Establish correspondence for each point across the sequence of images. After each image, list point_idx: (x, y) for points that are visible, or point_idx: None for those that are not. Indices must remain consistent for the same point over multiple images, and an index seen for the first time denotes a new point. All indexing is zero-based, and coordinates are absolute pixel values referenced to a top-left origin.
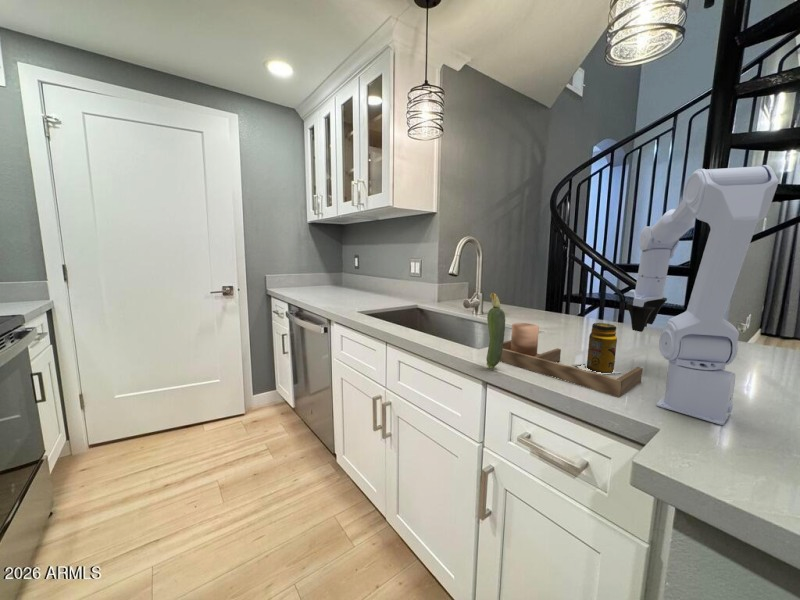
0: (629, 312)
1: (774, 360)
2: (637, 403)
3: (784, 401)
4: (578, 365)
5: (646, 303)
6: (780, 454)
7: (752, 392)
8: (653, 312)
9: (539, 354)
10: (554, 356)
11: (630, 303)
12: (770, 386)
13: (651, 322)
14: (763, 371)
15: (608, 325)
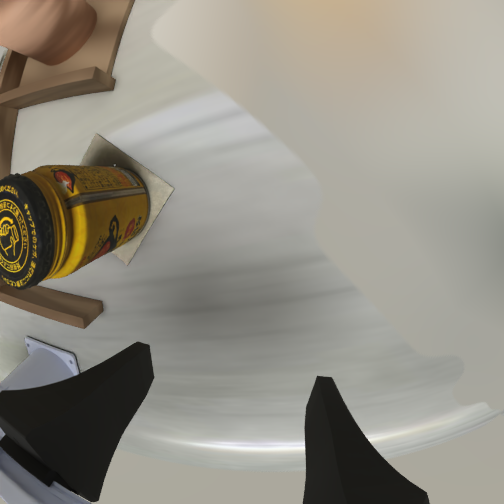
0: (46, 385)
1: (469, 423)
2: (15, 312)
3: (220, 465)
4: (101, 148)
5: (327, 496)
6: None
7: (232, 448)
8: (312, 466)
9: (15, 89)
10: (68, 89)
11: (4, 426)
12: (298, 459)
13: (306, 414)
14: (396, 440)
15: (15, 253)
